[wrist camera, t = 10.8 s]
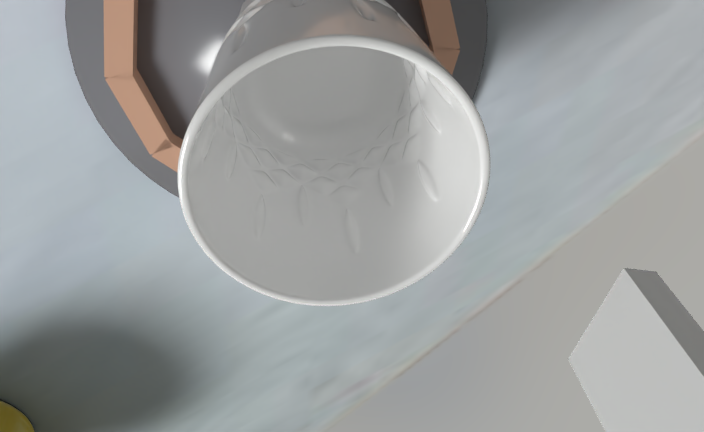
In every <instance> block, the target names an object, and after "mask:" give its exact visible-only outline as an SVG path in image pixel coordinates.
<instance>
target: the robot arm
mask: <svg viewBox="0 0 704 432" xmlns="http://www.w3.org/2000/svg"><path fill="white" fill-rule="evenodd" d="M568 360H569V362H570V364H571V366H572V368H573V369H574V371H575V374H576V375H577V378H578V380H579V381H580V383H581V385H582V387H583V389H584V391H585V393H586V395H587V397H588V399H589V401H590V402H591V405H592V407H593V408H594V410H595V412H596V414H597V416H598V418H599V420H600V422H601V424H602V426H603V428H604V430H605V431H606V432H704V331H703V330H702V329H701V327H700V326H699V325H698V324H697V322H696V321H695V320H694V319H693V317H692V316H691V315H690V314H689V313H688V311H687V310H686V309H685V307H684V306H683V305H682V304H681V303H680V301H679V300H678V299H677V297H676V296H675V295H674V294H673V292H672V291H671V290H670V289H669V287H668V286H667V285H666V284H665V283H664V281H663V280H662V278H661V277H660V276H659V275H658V273H657V272H654V271H645V270H636V269H628V268H624V269H623V270H622V272H621V274H620V275H619V277H618V278H617V280H616V282H615V283H614V285H613V286H612V288H611V290H610V291H609V293H608V295H607V296H606V298H605V300H604V301H603V303H602V304H601V306H600V308H599V309H598V311H597V313H596V314H595V316H594V318H593V319H592V321H591V322H590V324H589V326H588V327H587V329H586V331H585V332H584V334H583V335H582V337H581V339H580V340H579V342H578V344H577V345H576V347H575V349H574V350H573V352H572V354H571V355H570V357H569V358H568Z"/></svg>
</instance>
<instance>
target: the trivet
mask: <svg viewBox="0 0 704 432" xmlns="http://www.w3.org/2000/svg"><path fill="white" fill-rule="evenodd" d="M244 1H245V0H66V7H65V20H66V29H67V38H68V46H69V50H70V54H71V58H72V62H73V66H74V70H75V74H76V76H77V79H78V81H79V84H80V86H81V89H82V91H83V94H84V96H85V99H86V101H87V102H88V104H89V106H90V108H91V110H92V111H93V113H94V115H95V117H96V119H97V121H98V122H99V124H100V125H101V126H102V128H103V129H104V131H105V132H106V133H107V135H108V136H109V138H110V139H111V140H112V142H113V143H114V144H115V145H116V146H117V148H118V149H119V150H120V151H121V152H122V153H123V154H124V155H125V156H126V157H127V158H128V160H129V161H130V162H131V163H132V164H134V165H135V166H136V167H137V168H138V169H139V170H140V171H142V172H143V173H144V174H145V175H146V176H147V177H149V178H150V179H151V180H153V181H154V182H155V183H157V184H158V185H160V186H161V187H163V188H164V189H166V190H167V191H169V192H170V193H172V194H174V195H176V196H177V197H179V192H178V179H177V174H178V161H179V155H180V150H181V146H182V142H183V139H184V136H185V133H186V131H187V128H188V126H189V123H190V121H191V118H192V116H193V113H194V111H195V108H196V106H197V103H198V101H199V98H200V96H201V93H202V90H203V88H204V85H205V83H206V80H207V78H208V76H209V73H210V70H211V68H212V65H213V62H214V60H215V57H216V54H217V52H218V50H219V48H220V46H221V44H222V42H223V40H224V38H225V36H226V34H227V32H228V31H229V29H230V28H231V26H232V25H233V23H234V22H235V21H236V18H237V16H238V13H239V11H240V9H241V6H242V4H243V2H244ZM385 1H386V2H387V3H389V4H390V5H391V6H392V7H393V8H394V9H395V10H396V11H397V13H399V14H400V15H401V17H402V18H403V19H404V20H405V21H406V22H407V23H408V24H409V25H410V26H411V27H412V28H413V29H414V30H415V32H416V33H417V34H418V35H419V36H420V38H421V39H422V40H423V41H424V42H425V44H426V45H427V46H428V47H429V49H430V50H431V51H432V52H433V53H434V55H435V56H436V57H437V58H438V59H439V61H440V62H441V63H442V64H443V65H444V67H445V68H446V69H447V70H448V71H449V72H450V74H451V75H452V76H453V77H454V78H455V80H456V81H457V82H458V83H459V84H460V85H461V86H462V88H463V89H464V90H465V91H466V93H467V94H468V96H469V97H470V99H471V100H472V98H473V96H474V93H475V91H476V88H477V85H478V81H479V77H480V74H481V70H482V67H483V61H484V54H485V48H486V41H487V7H486V0H385Z"/></svg>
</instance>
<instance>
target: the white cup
mask: <svg viewBox="0 0 704 432" xmlns="http://www.w3.org/2000/svg"><path fill="white" fill-rule="evenodd" d="M489 178H490V150H489V143H488V138H487V134H486V131H485V127H484V125H483V122H482V119H481V117H480V115H479V113H478V111H477V109H476V107H475V105H474V103H473V102H472V100H471V99H470V97H469V96H468V94H467V93H466V91H465V90H464V89H463V88H462V86H461V85H460V84H459V83H458V82H457V81H456V80H455V78H454V77H453V76H452V75H451V74H450V72H449V71H448V70H447V69H446V68H445V67H444V65H443V64H442V63H441V62H440V61H439V59H438V58H437V57H436V56H435V55H434V53H433V52H432V51H431V50H430V49H429V47H428V46H427V45H426V44H425V42H424V41H423V40H422V39H421V38H420V36H419V35H418V34H417V33H416V32H415V30H414V29H413V28H412V27H411V26H410V25H409V24H408V23H407V22H406V21H405V20H404V19H403V18H402V17H401V15H400V14H399V13H397V11H396V10H395V9H394V8H393V7H392V6H391V5H390V4H389V3H387V2H386V1H385V0H245V1H244V2H243V4H242V6H241V9H240V11H239V13H238V16H237V18H236V21H235V22H234V23H233V25H232V26H231V28H230V29H229V31H228V32H227V34H226V36H225V38H224V40H223V42H222V44H221V46H220V48H219V50H218V52H217V54H216V57H215V60H214V62H213V65H212V68H211V70H210V73H209V76H208V78H207V80H206V83H205V85H204V88H203V90H202V93H201V96H200V98H199V101H198V103H197V106H196V108H195V111H194V113H193V116H192V118H191V121H190V123H189V126H188V128H187V131H186V133H185V136H184V139H183V142H182V146H181V150H180V155H179V161H178V174H177V179H178V192H179V198H180V203H181V207H182V211H183V214H184V217H185V219H186V222H187V224H188V226H189V229H190V231H191V232H192V234H193V236H194V238H195V239H196V241H197V242H198V244H199V245H200V247H201V248H202V249H203V251H204V252H205V253H206V254H207V255H208V257H209V258H210V259H211V260H212V261H213V262H214V263H215V264H216V265H217V266H218V267H219V268H221V269H222V270H223V271H224V272H225V273H227V274H228V275H229V276H231V277H232V278H234V279H235V280H237V281H238V282H240V283H242V284H243V285H245V286H247V287H249V288H251V289H253V290H255V291H257V292H259V293H262V294H264V295H267V296H270V297H273V298H276V299H279V300H283V301H287V302H292V303H297V304H304V305H314V306H339V305H349V304H356V303H362V302H366V301H371V300H374V299H378V298H381V297H384V296H387V295H390V294H393V293H395V292H397V291H400V290H402V289H404V288H406V287H408V286H410V285H412V284H414V283H416V282H417V281H419V280H421V279H422V278H424V277H425V276H427V275H428V274H430V273H431V272H432V271H434V270H435V269H436V268H438V267H439V266H440V265H441V264H442V263H443V262H445V261H446V260H447V259H448V258H449V257H450V256H451V255H452V254H453V253H454V252H455V250H456V249H457V248H458V247H459V246H460V245H461V243H462V242H463V241H464V239H465V238H466V237H467V235H468V234H469V232H470V231H471V229H472V227H473V226H474V224H475V222H476V220H477V218H478V216H479V214H480V212H481V209H482V207H483V204H484V201H485V198H486V194H487V190H488V185H489Z"/></svg>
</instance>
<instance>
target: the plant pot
mask: <svg viewBox="0 0 704 432" xmlns="http://www.w3.org/2000/svg"><path fill="white" fill-rule="evenodd" d="M0 432H34V429H33V426H32V424H31V423H30V421H29V420H28V418H27V417H26V416H25V415H24V414H23V413H22V412H20V411H19V410H17V409H16V408H14V407H13V406H11V405H9V404H7V403H5V402H3V401H0Z"/></svg>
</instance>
